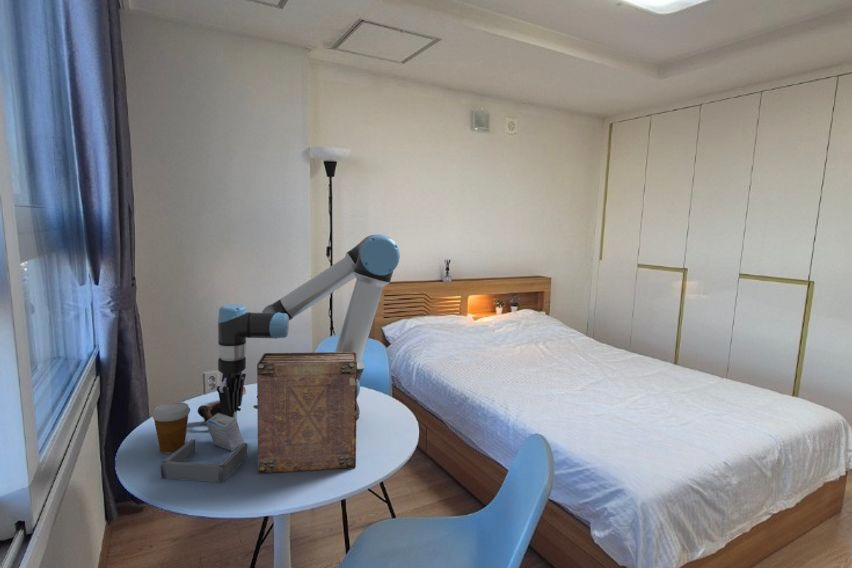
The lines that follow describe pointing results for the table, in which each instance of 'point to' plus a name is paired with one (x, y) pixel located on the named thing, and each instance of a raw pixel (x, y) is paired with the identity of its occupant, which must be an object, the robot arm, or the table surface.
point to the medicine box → (224, 431)
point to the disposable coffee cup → (171, 425)
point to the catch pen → (200, 465)
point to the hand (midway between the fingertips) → (231, 432)
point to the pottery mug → (209, 411)
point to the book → (306, 411)
